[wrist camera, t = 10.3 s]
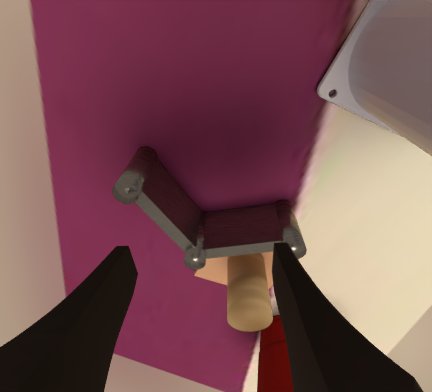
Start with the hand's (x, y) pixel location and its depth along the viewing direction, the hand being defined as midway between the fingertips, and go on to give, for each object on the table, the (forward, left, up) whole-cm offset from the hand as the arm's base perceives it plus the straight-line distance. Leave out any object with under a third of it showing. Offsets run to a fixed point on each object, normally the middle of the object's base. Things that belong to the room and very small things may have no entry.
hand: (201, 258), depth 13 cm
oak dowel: (-7, +8, -9) cm, 14 cm away
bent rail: (-1, +3, -9) cm, 10 cm away
